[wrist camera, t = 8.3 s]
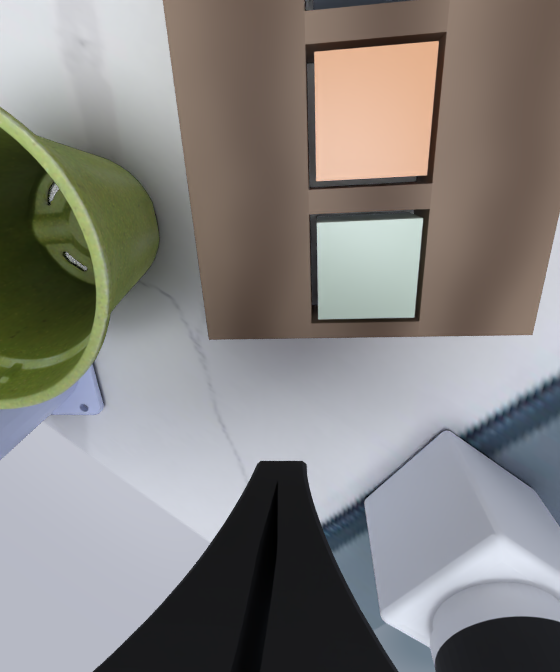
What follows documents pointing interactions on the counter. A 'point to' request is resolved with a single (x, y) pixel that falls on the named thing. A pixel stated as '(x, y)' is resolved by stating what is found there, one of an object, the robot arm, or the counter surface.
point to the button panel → (421, 196)
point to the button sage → (368, 265)
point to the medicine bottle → (467, 561)
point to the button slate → (348, 3)
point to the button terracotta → (374, 111)
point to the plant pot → (62, 259)
